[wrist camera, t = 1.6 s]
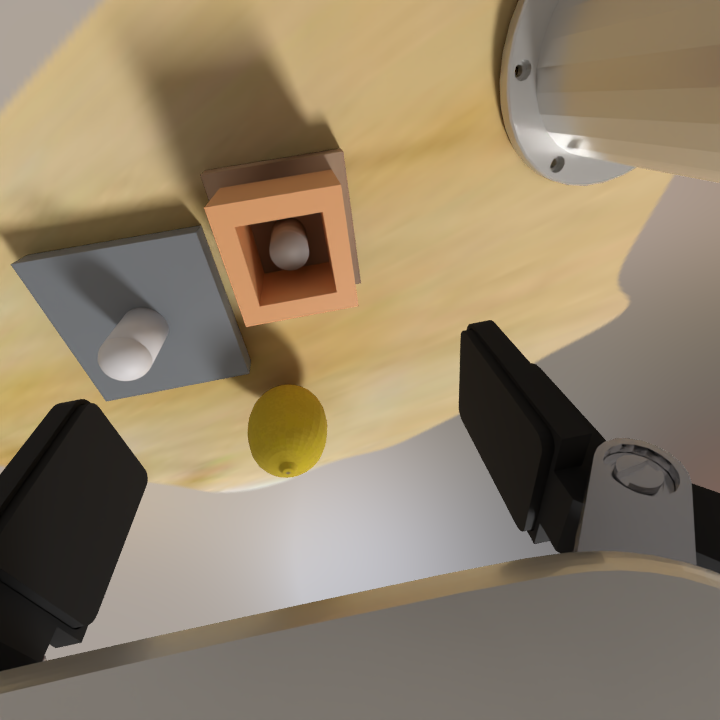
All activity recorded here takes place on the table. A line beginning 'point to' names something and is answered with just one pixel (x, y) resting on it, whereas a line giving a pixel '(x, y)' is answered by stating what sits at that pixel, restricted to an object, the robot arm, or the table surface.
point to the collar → (283, 288)
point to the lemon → (287, 431)
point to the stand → (296, 234)
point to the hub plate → (141, 282)
